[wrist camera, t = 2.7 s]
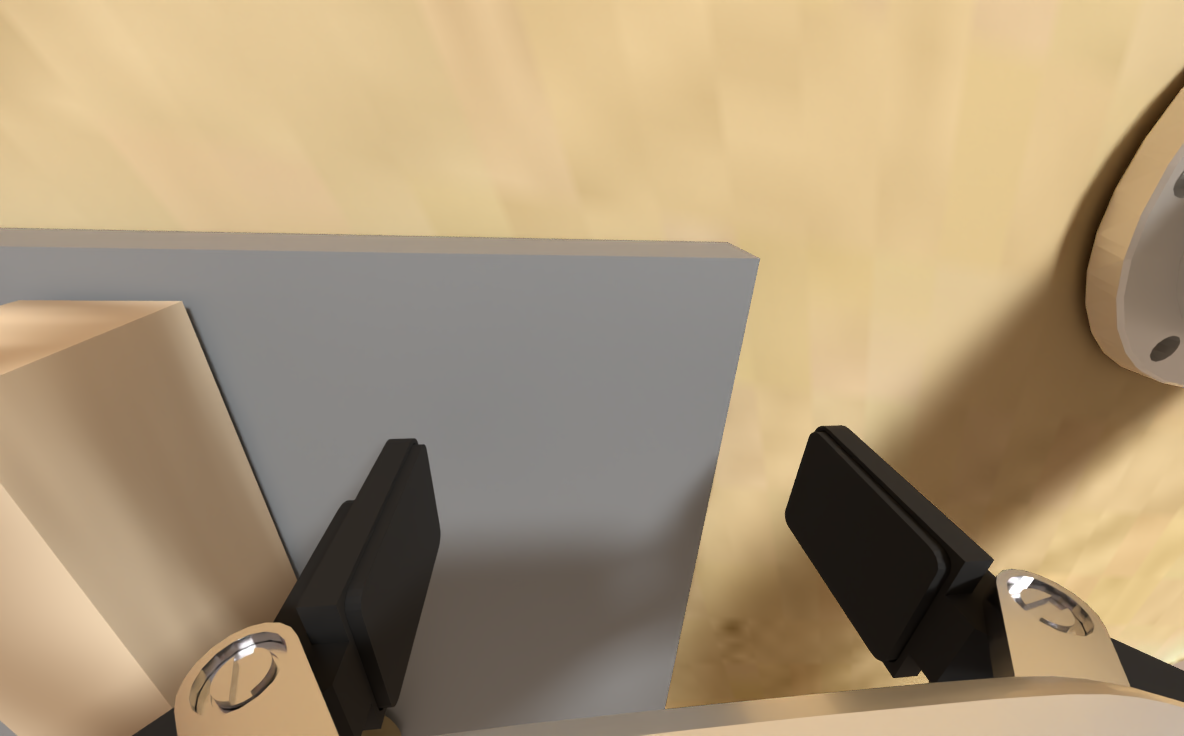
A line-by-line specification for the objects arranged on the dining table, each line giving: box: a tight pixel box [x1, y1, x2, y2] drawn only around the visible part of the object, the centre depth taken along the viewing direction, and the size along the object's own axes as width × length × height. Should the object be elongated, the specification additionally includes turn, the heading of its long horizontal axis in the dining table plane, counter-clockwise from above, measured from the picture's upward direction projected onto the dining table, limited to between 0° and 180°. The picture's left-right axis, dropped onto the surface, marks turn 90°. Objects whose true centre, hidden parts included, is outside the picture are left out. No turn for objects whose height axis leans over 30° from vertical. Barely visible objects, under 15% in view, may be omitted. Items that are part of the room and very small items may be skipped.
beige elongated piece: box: [0, 300, 401, 736], centre depth 11 cm, size 6×21×5 cm, turn 178°
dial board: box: [0, 228, 760, 736], centre depth 15 cm, size 28×24×2 cm
